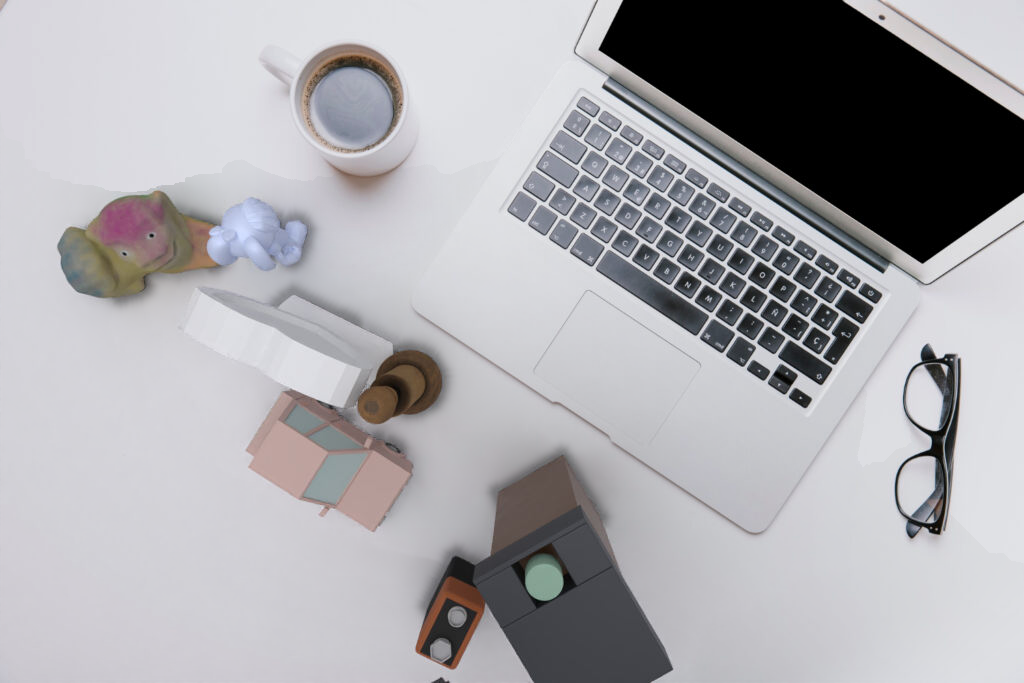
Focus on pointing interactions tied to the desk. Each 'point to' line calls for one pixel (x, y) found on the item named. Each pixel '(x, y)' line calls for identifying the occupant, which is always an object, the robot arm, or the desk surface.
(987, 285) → the desk surface
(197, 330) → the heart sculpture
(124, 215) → the sculpture
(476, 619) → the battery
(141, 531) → the desk surface
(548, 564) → the tare button
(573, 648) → the dark grey tall block
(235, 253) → the toy figurine
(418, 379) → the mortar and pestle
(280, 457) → the toy car
